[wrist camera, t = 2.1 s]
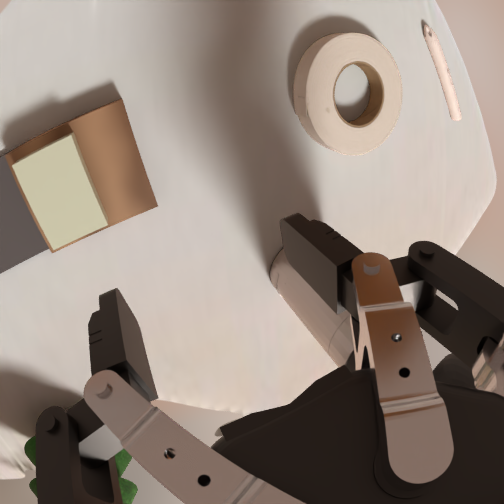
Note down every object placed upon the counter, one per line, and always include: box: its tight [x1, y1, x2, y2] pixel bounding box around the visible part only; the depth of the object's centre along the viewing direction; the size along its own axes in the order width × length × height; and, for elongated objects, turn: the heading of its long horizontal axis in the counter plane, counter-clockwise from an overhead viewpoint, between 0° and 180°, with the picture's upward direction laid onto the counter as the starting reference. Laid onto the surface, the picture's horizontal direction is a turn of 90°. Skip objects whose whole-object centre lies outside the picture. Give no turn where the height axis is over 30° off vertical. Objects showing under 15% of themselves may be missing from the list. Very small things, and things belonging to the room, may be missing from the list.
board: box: [5, 99, 158, 253], centre depth 27 cm, size 12×11×2 cm
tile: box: [12, 132, 108, 250], centre depth 25 cm, size 6×9×2 cm, turn 12°
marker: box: [424, 24, 462, 121], centre depth 38 cm, size 18×2×2 cm, turn 38°
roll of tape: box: [293, 32, 402, 155], centre depth 34 cm, size 16×15×3 cm
